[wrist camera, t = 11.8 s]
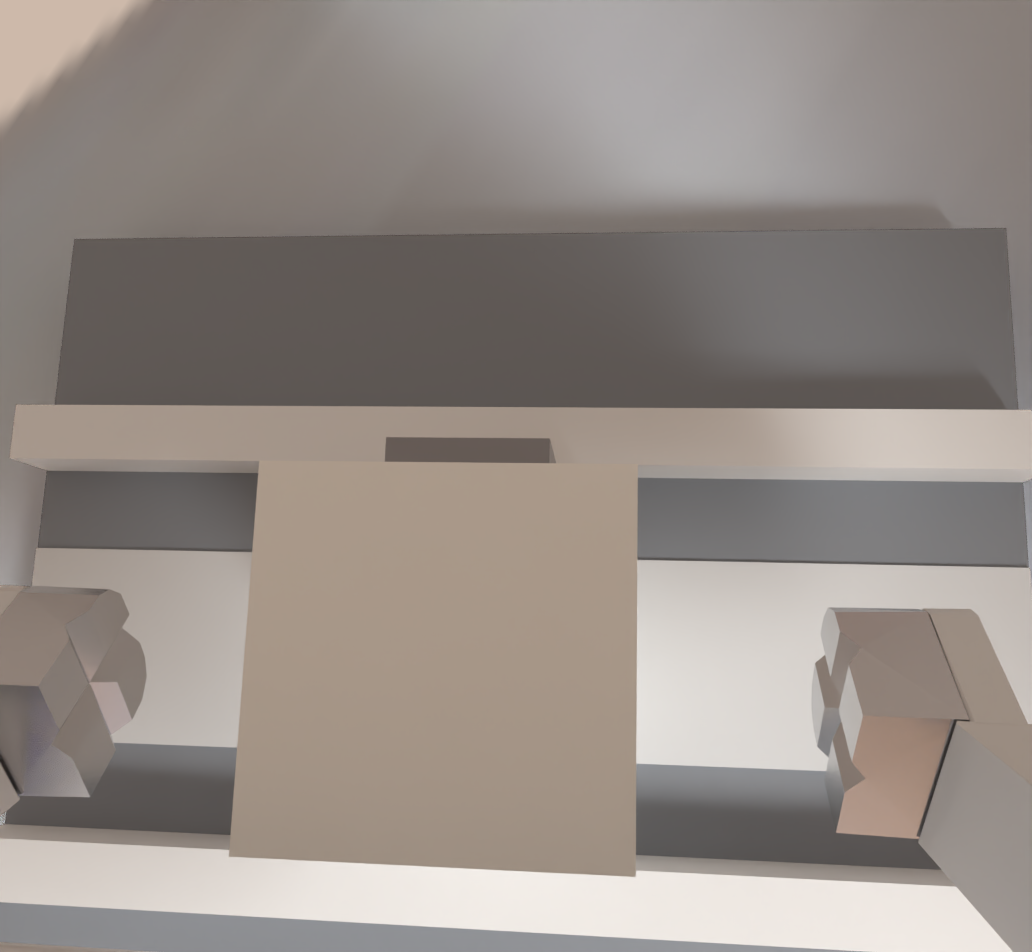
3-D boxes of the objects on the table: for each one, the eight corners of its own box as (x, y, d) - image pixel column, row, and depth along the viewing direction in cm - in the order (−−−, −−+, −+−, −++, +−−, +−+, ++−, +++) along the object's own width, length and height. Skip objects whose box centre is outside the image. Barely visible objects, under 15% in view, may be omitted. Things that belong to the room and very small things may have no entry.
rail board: (975, 260, 19) (1034, 197, 16) (1028, 1151, 16) (1110, 1248, 14) (111, 268, 21) (40, 212, 18) (22, 1076, 18) (-78, 1149, 15)
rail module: (624, 511, 17) (637, 407, 10) (622, 777, 16) (635, 876, 9) (405, 508, 18) (263, 405, 10) (392, 767, 17) (228, 857, 10)
